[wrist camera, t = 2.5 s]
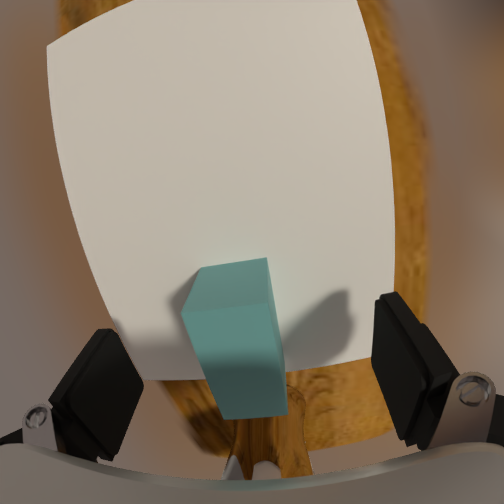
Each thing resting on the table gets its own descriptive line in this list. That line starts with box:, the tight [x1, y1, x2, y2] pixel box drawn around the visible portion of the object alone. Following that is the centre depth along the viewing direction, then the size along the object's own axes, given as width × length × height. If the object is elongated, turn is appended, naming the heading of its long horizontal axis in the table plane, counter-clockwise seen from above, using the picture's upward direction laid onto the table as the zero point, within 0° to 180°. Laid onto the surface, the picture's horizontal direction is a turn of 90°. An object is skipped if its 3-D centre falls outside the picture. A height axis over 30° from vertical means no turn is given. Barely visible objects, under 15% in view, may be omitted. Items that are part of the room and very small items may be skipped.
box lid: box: [47, 0, 395, 420], centre depth 8 cm, size 16×12×4 cm
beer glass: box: [221, 385, 315, 480], centre depth 14 cm, size 7×7×15 cm
